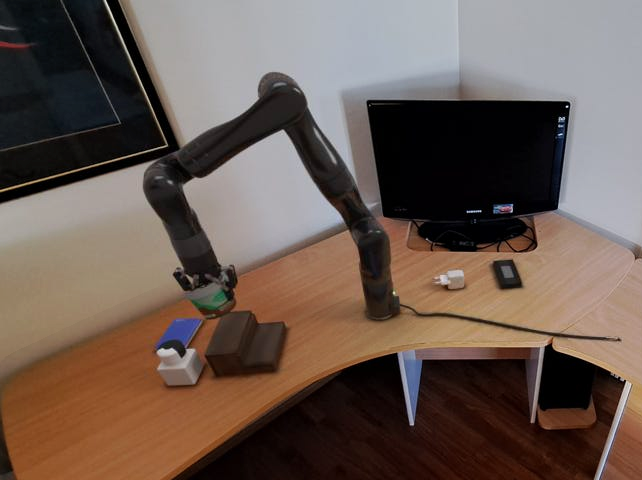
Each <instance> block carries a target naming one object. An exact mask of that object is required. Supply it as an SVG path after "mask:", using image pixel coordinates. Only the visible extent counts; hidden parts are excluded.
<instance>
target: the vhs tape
mask: <svg viewBox="0 0 642 480" xmlns="http://www.w3.org/2000/svg"><path fill="white" fill-rule="evenodd" d="M492 266H493V268H494V272H495V275H496V277H497V281H498V283H499V286H500V289H501V290H504V289H505V290H507V289H515V288H522V286H523V281H522V279H521V276H520V274H519V271H518V268H517V266H516V263H515V261H514V259H513V258H509V259H499V260H493V261H492Z"/></svg>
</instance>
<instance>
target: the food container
mask: <svg viewBox="0 0 642 480" xmlns="http://www.w3.org/2000/svg"><path fill="white" fill-rule="evenodd" d="M221 273H222V274H224V275H225V273H224V272H222V271H221ZM225 277H226V279H227V280H228V276H226V275H225ZM220 279H221V275H220V276H219V277H218V280H219V281H220ZM225 283H226V281H225V280H224V284H225ZM221 287H222V286H221V285H220V286H219V285H217V284H215V283H214V282H213V283H210V282H206V283H199V285H198V287H194V288H193V289H192V290H191V291H183V294H184V297H185V299H186V301H190V302H191V304H192V305H193V306H194V307H195V308H196V310H197V311H198V312H199V313H200V314H201V315H202V317H204V319H205V320H206V321H211V320H215V319H220V317H222V316H224V315H226V314H228V313H229V312H232V311H233V310H235V307H236V306H237V300H236V297H235V296H234V298H233V299H232V301H228V299H227V297H226V295H225V293H224V289H223V288H221Z"/></svg>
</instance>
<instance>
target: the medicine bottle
mask: <svg viewBox="0 0 642 480" xmlns="http://www.w3.org/2000/svg"><path fill="white" fill-rule="evenodd" d="M155 352H156V355H157V356H158V358H159V359H160V363H159V365H158V366H157V368H156V370H157V372H158V373H159V375H160V376H161V378H162V379H163V381H164V382H165V384H166V385H167V386H169V387H170V386H171V387H172V386H191V385H192V386H193V385H195V384H196V383H197V381H198V379H199V377H200V376H201V373H202V372H203V369H204V367H205V364H204V362H203V360H202V358H201V356H200V354H199V353H198V351H197V349H196V348H187V347H186V348H185V346H184V345H183V343H182V342H181V341H180V340H169V341H166V342H164V343H162V344H161V345H160V346H159V347H158V349H157V351H155Z"/></svg>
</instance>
